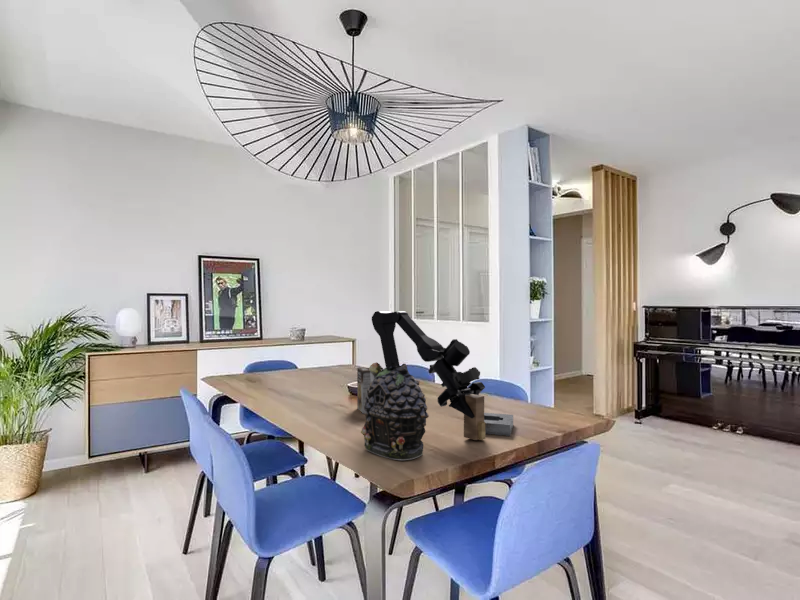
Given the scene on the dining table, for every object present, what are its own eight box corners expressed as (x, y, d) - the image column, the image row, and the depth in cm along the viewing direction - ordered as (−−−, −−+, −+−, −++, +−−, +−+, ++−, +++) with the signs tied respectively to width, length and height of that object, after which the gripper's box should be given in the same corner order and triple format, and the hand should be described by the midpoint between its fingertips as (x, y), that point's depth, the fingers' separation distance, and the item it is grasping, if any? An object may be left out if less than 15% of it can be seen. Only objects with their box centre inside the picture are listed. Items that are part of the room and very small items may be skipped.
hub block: (465, 432, 145) (465, 421, 145) (472, 421, 158) (472, 411, 158) (510, 436, 140) (510, 425, 140) (513, 425, 154) (513, 414, 154)
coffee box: (356, 408, 178) (356, 367, 178) (372, 407, 180) (372, 367, 180) (361, 413, 169) (361, 370, 169) (378, 412, 171) (378, 370, 171)
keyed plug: (463, 437, 136) (464, 395, 137) (471, 434, 140) (472, 393, 140) (479, 441, 133) (479, 398, 133) (487, 437, 136) (487, 396, 136)
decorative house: (348, 450, 126) (349, 361, 126) (385, 438, 137) (385, 357, 138) (404, 468, 112) (405, 368, 112) (440, 453, 123) (440, 362, 124)
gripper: (445, 361, 133) (476, 405, 125) (480, 356, 146) (510, 395, 139) (424, 385, 138) (453, 428, 130) (460, 378, 152) (488, 416, 144)
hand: (477, 416), depth 136 cm, fingers closed on keyed plug, 4 cm apart
